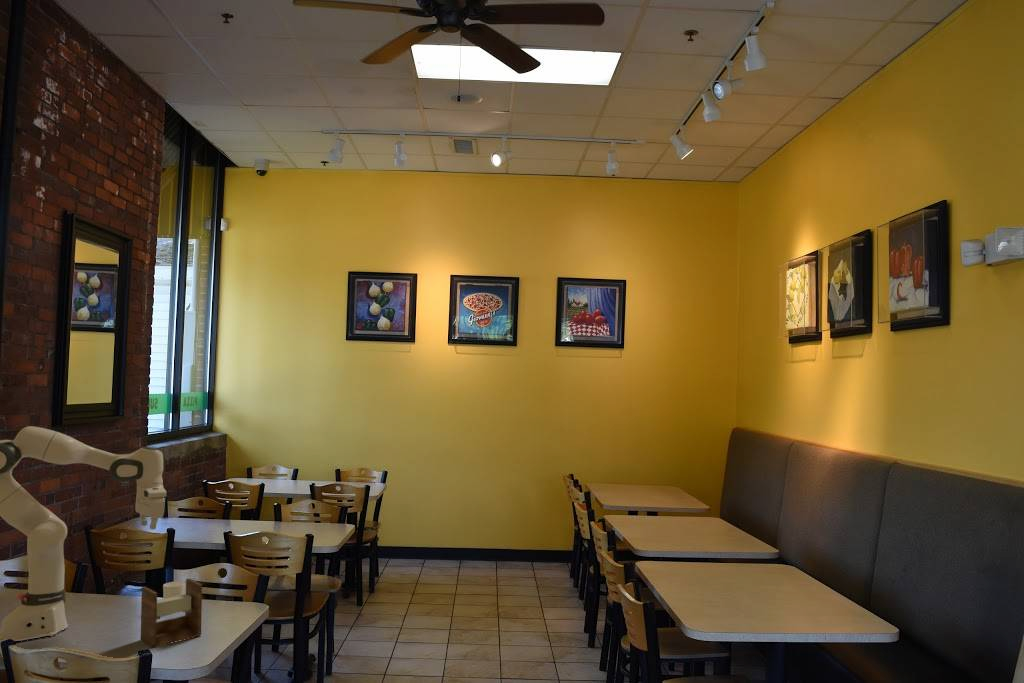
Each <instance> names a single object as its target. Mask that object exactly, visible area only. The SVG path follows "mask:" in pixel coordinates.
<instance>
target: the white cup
mask: <svg viewBox="0 0 1024 683" xmlns="http://www.w3.org/2000/svg"><path fill="white" fill-rule="evenodd" d="M162 590H163V593H162V594H163V598H162V599H165V598H170V597H175V596H180V595H185V594H186V581H181V580H180V581H179V580H178V581H171V582H166V583H164V584H163V585H162Z"/></svg>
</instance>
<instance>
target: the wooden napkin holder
mask: <svg viewBox="0 0 1024 683" xmlns="http://www.w3.org/2000/svg"><path fill="white" fill-rule="evenodd" d="M185 594H187V595H189V596H191V610H186V611H182V613H184V612H185V615H181V616H176V617H173V618H167V619H164V620H160V619H161V616H158V617H157V600H158V592H156V591H155V590H153V589H151V588H149V587H147V586H142V587H141V605H140V608H141V609H140V641H141V640H142V641H141V642H143V643H144V644H146V645H147V646H148V647H150V648H151V649H154V647H155V648H157V647H156V646H159V647H161V646H160V645H163V646H165V645H164V644H167V645H169V644H168V643H171V642H175V641H179V640H184V639H188V638H192V637H196V636H200V635H201V636H202V612H203V610H202V609H203V608H202V607H203V606H202V602H203V584H202V583H200V582H198V581H196V580H194V579H192V578H186V579H185ZM157 620H159V621H157ZM201 636H200V637H201ZM196 638H197V637H196ZM192 639H193V638H192ZM188 640H189V639H188ZM184 641H185V640H184ZM175 643H176V642H175ZM171 644H172V643H171Z"/></svg>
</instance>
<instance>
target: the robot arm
mask: <svg viewBox="0 0 1024 683" xmlns="http://www.w3.org/2000/svg"><path fill="white" fill-rule="evenodd" d="M23 458H32V459H36V460H39V461H43V462H46V463H51V464H53V465H54V464H56V465H63V466H65V465H72V464H86V465H90V466H94V467H97V468H101V469H105V470H108V473H109V476H110V478H111V479H112V480H113V481H114V482H116V483H120V484H125V483H126V484H127V483H128V482H135V481H136V496H135V497H136V498H135V505H134V509H135V512H136V513H139V518H140V525H141V526H143V527H144V526H147V525H148V520H147V517H148V518H150V523H149V529H150V530H156V528H157V523H158V521H159V519H160V518H161V519H162V518H163V516H164V514H165V503H166V499H165V497H167V490H166V489H165V488H164V480H163V473H164V454H163V452H162V451H161V449H159V448H157V447H151V446H141V447H139V449H136V450H135V451H133V452H131V453H130V452H129V453H113V452H110V451H106V450H102V449H99V448H96V447H92V446H91V445H88V444H85V443H84V442H81V441H79V440H77V439H75V438H74V437H72V436H69V435H67V434H65V433H62V432H59V431H55V430H52V429H48V428H45V427H40V426H30V425H29V426H25V427H23V428H22V429H20V431H18V433H17V434H16V436H15V438H14V439H11V438H4V439H1V440H0V517H1V518H2V520H4V521H5V522H6V523H7V524H8V525H10V526H12V527H13V528H15V529H17V530H18V531H19V532H20V533H22V534H24V535H25V536H26V537H27V540H26V549H27V553H26V554H27V563H28V583H27V585H28V586H27V588H28V589H27V592H26V593H25V594H24V593H22V592H21V593H18V595H17V599H19V600H20V605H19V606H17V607H16V608H15V609H13V610H12V611H11V612H10V613H9V614H7V615H6V616H5V617H4V618H3V619H2V623H1V626H0V627H1V628H0V631H1V632H0V641H1V640H4V639H13V638H14V640H20V639H26V638H32V637H41V636H47V635H54V634H56V633H57V632H59V631H61V630H64V629H65V628H67V627H68V628H69V624H68V621H67V618H66V617H67V615H66V610H65V603H66V596H67V594H66V593H67V592H66V587H65V571H66V570H65V569H66V568H65V567H66V565H65V555H64V554H65V553H64V550H65V548H64V543H65V539H66V538H67V536H68V527H67V524H66V523H65V522H64V521H63V520H62V519H61V518H59V517H58V516H57V515H56V514H55V513H53V512H52V511H51V510H50V509H48V508H47V507H45V505H42V504H41V503H40V502H39V501H38V500H37V499H36V498H34V496H32V495H31V493H29V492H28V490H26V489H25V488H24V487H23V486H22V484H20V483H18V481H16V479H15V478H14V477H13V472H14V471H15V470H16V469H17V467H18V466H19V465H20V463H22V461H23ZM68 628H67V629H68ZM65 630H66V629H65ZM65 630H64V631H65ZM61 632H62V631H61ZM59 633H60V632H59ZM56 635H57V634H56Z"/></svg>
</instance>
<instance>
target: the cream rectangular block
mask: <svg viewBox="0 0 1024 683" xmlns="http://www.w3.org/2000/svg"><path fill="white" fill-rule="evenodd" d="M186 610H191V596H189V595H187V594H186V593H185V594H184V595H180V596H175V597H170V598H165V599H164V598H161V599H157V617H158V616H160V617H163V616H167V615H170V614H171V615H173V614H175V613H180V612H182V613H183V611H186Z"/></svg>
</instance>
